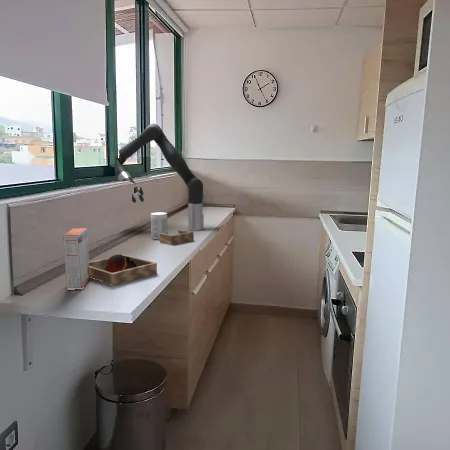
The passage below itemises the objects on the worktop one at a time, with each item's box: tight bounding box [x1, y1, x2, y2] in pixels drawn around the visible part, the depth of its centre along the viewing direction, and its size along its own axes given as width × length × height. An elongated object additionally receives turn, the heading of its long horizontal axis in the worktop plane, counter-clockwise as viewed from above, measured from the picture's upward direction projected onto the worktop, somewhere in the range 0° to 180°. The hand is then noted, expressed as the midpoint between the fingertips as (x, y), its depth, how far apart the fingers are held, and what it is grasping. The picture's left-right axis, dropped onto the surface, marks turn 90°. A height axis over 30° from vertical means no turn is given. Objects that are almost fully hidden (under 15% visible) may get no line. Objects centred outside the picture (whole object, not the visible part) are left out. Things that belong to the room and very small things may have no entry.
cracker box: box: [62, 227, 91, 289], centre depth 164 cm, size 14×6×21 cm, turn 5°
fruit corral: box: [89, 254, 158, 286], centre depth 180 cm, size 22×22×4 cm
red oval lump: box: [104, 253, 137, 273], centre depth 179 cm, size 12×12×15 cm
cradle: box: [159, 229, 195, 246], centre depth 245 cm, size 16×10×5 cm, turn 139°
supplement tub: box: [150, 211, 169, 240], centre depth 253 cm, size 10×10×15 cm
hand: (139, 201), depth 263 cm, fingers open, 5 cm apart
